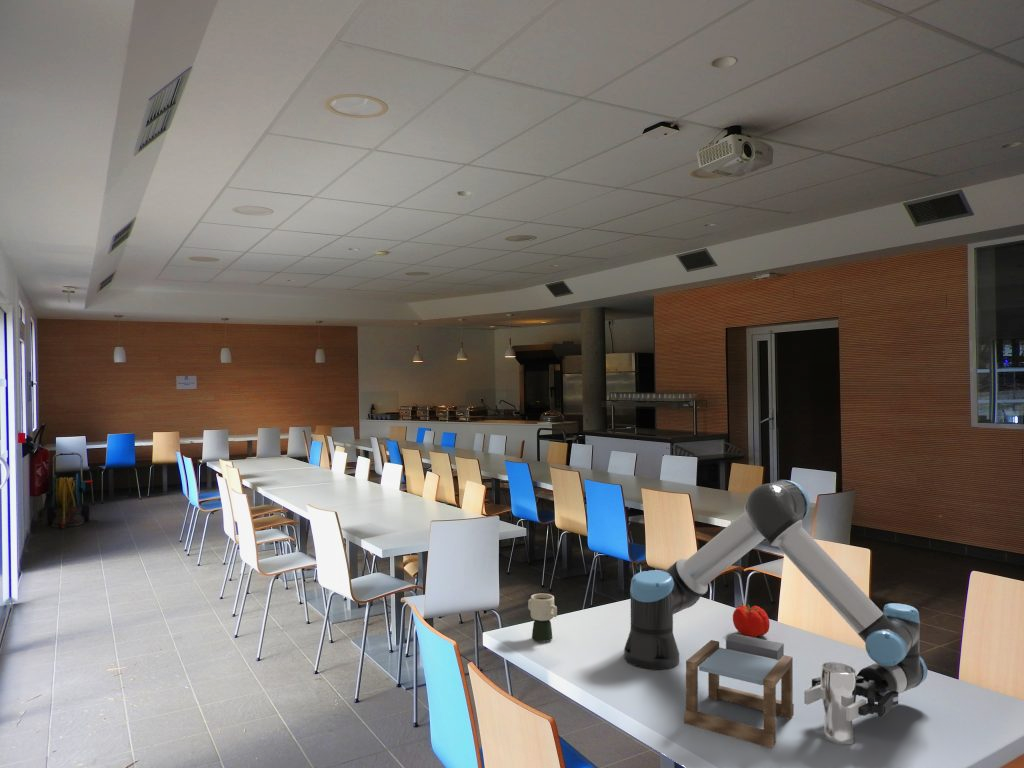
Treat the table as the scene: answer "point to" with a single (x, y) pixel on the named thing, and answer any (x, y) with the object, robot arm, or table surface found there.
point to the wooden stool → (740, 699)
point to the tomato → (751, 621)
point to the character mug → (542, 615)
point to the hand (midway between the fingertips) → (826, 705)
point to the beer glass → (837, 701)
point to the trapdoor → (744, 659)
